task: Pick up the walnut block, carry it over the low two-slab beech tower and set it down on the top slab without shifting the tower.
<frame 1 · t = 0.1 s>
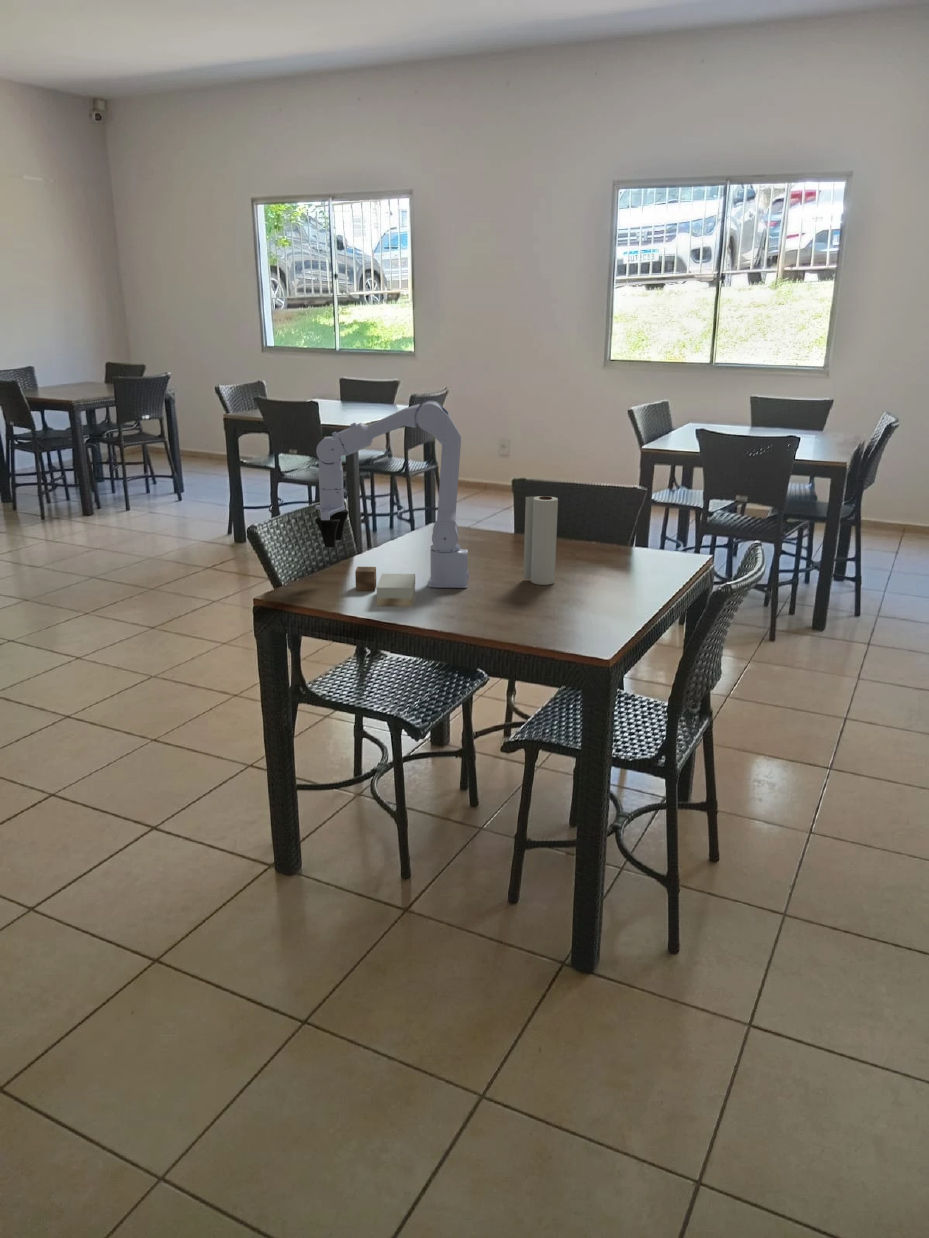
hand: (333, 543, 225), 10 cm above the table, tool pointing down, fingers open, 7 cm apart
paper towel roll: (541, 582, 231), on the table
slab bottom: (396, 601, 216), on the table, touching slab top
slab top: (396, 590, 215), point 2 cm above the table, touching slab bottom
walnut block: (366, 589, 223), on the table
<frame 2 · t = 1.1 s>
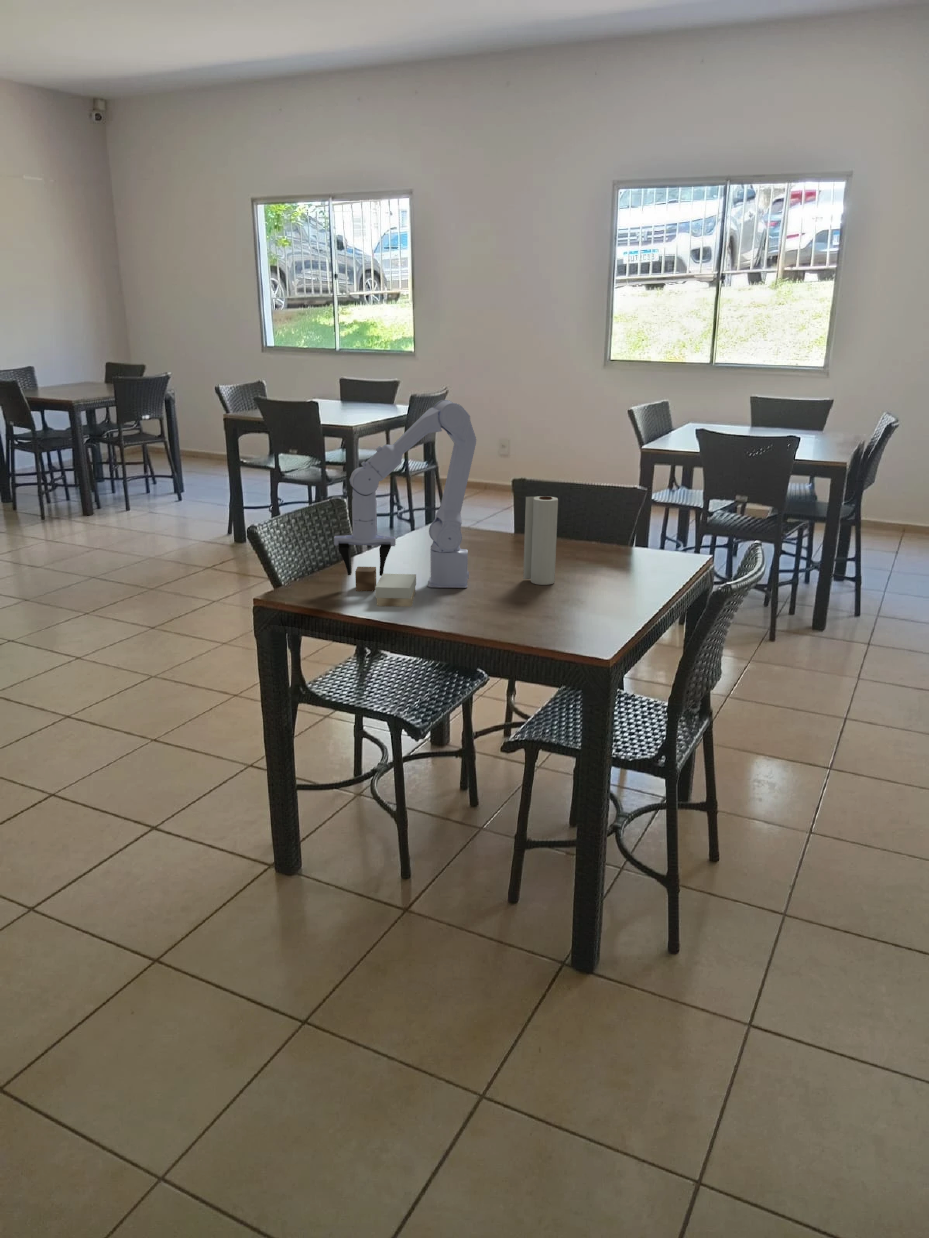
hand: (365, 574, 222), 4 cm above the table, tool pointing down, fingers open, 7 cm apart
nothing on the table moved.
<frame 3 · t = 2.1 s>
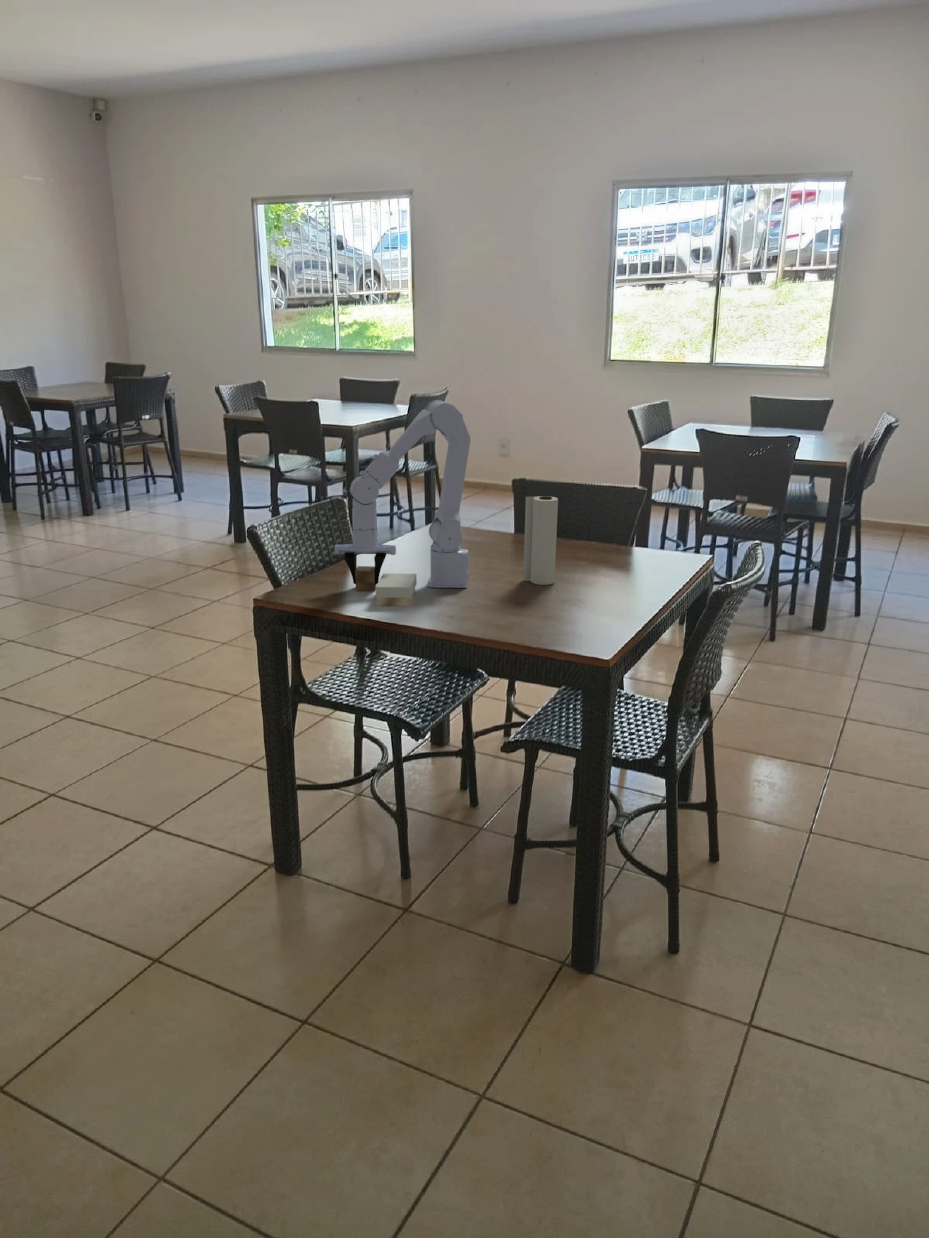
hand: (366, 583, 223), 1 cm above the table, tool pointing down, fingers closed on walnut block, 4 cm apart
walnut block: (366, 588, 223), on the table, touching gripper
everything else where it was.
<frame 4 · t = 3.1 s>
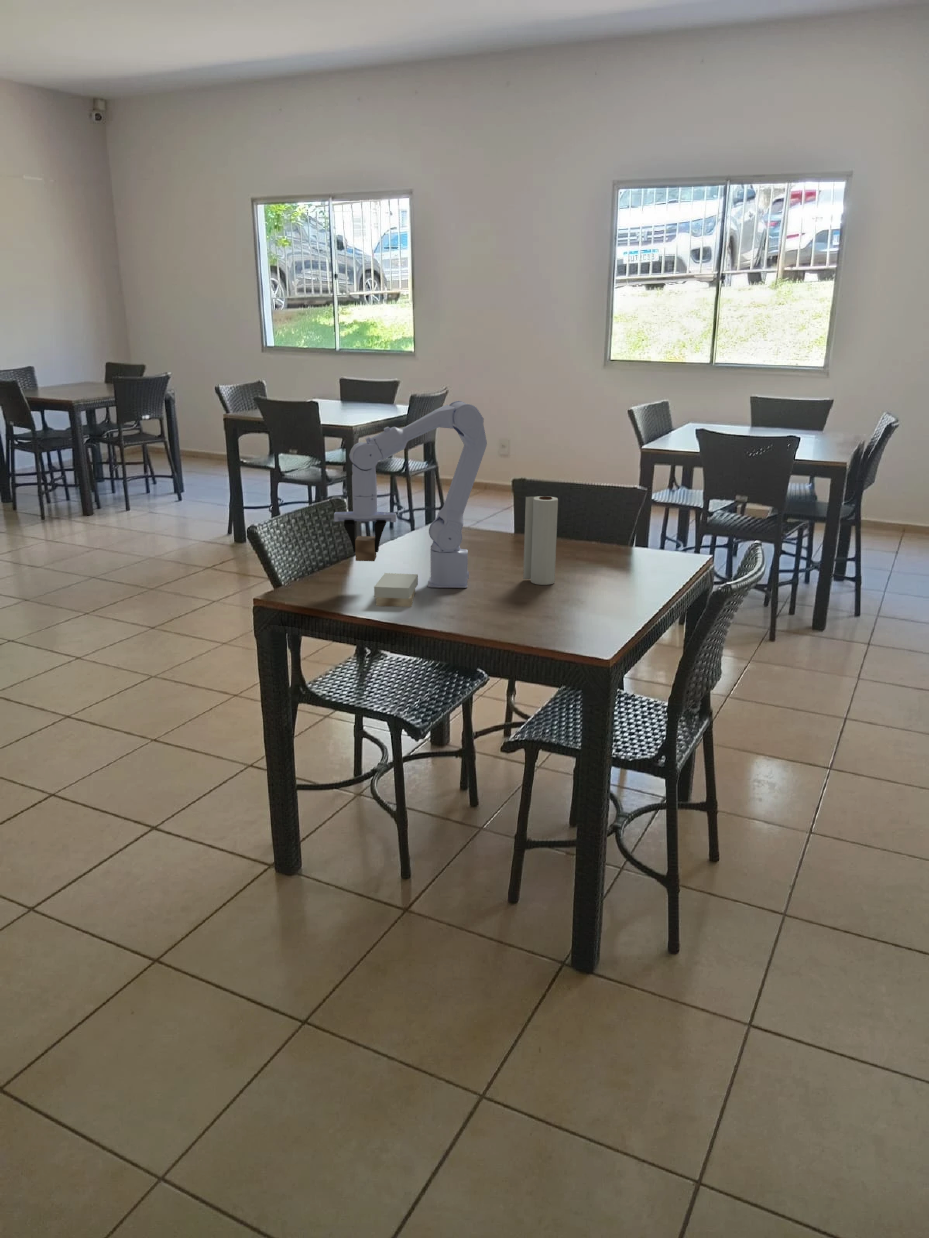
hand: (366, 551, 220), 9 cm above the table, tool pointing down, fingers closed on walnut block, 4 cm apart
walnut block: (366, 558, 221), point 8 cm above the table, touching gripper
everything else where it was.
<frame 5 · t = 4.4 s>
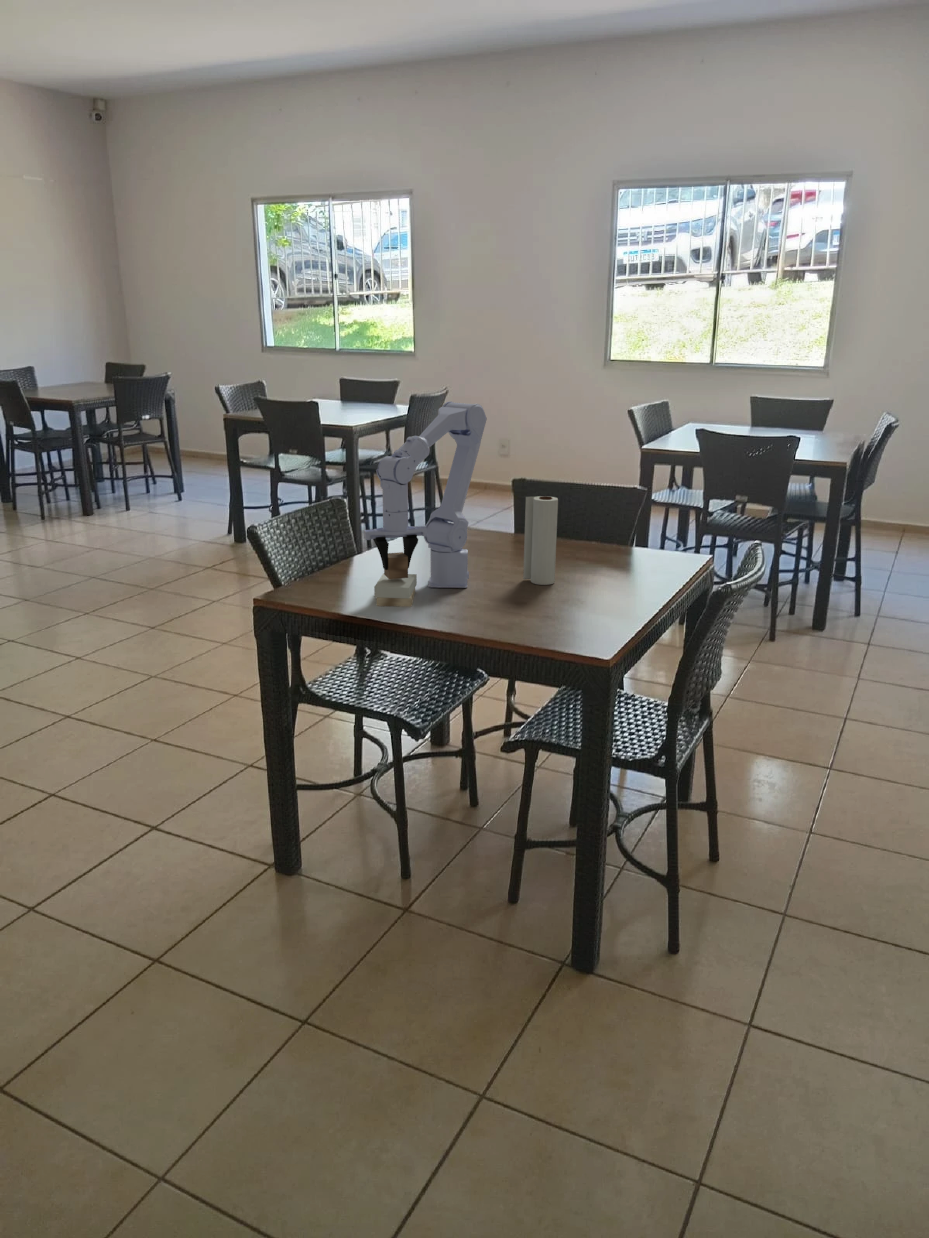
hand: (396, 567, 213), 7 cm above the table, tool pointing down, fingers closed on walnut block, 4 cm apart
walnut block: (396, 576, 214), point 5 cm above the table, touching gripper
everything else where it was.
when the fingers open (7 cm above the table, at t = 4.7 s): walnut block drops 1 cm, point 4 cm above the table.
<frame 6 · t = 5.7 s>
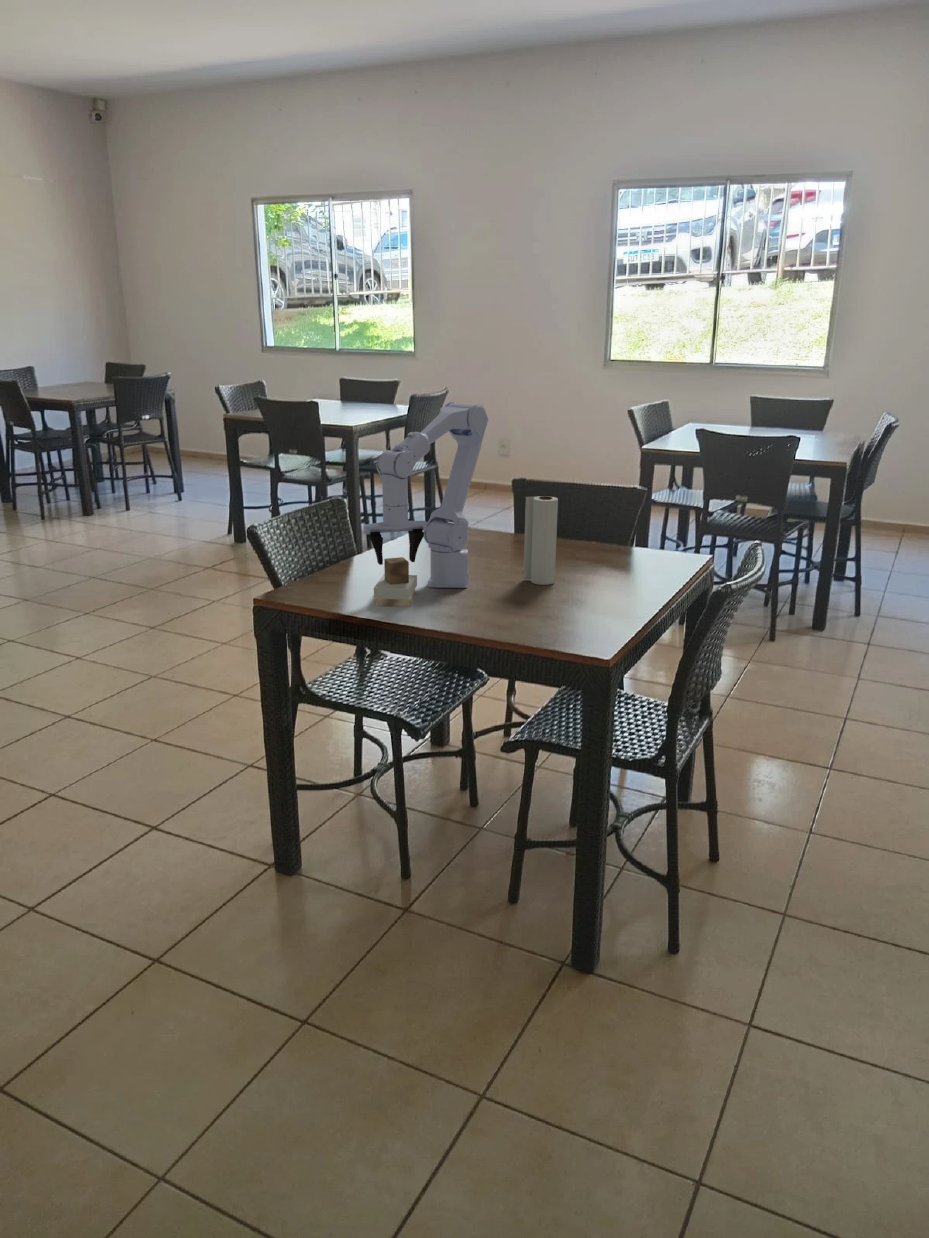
hand: (396, 562, 213), 9 cm above the table, tool pointing down, fingers open, 7 cm apart
walnut block: (396, 581, 215), point 4 cm above the table
everything else where it was.
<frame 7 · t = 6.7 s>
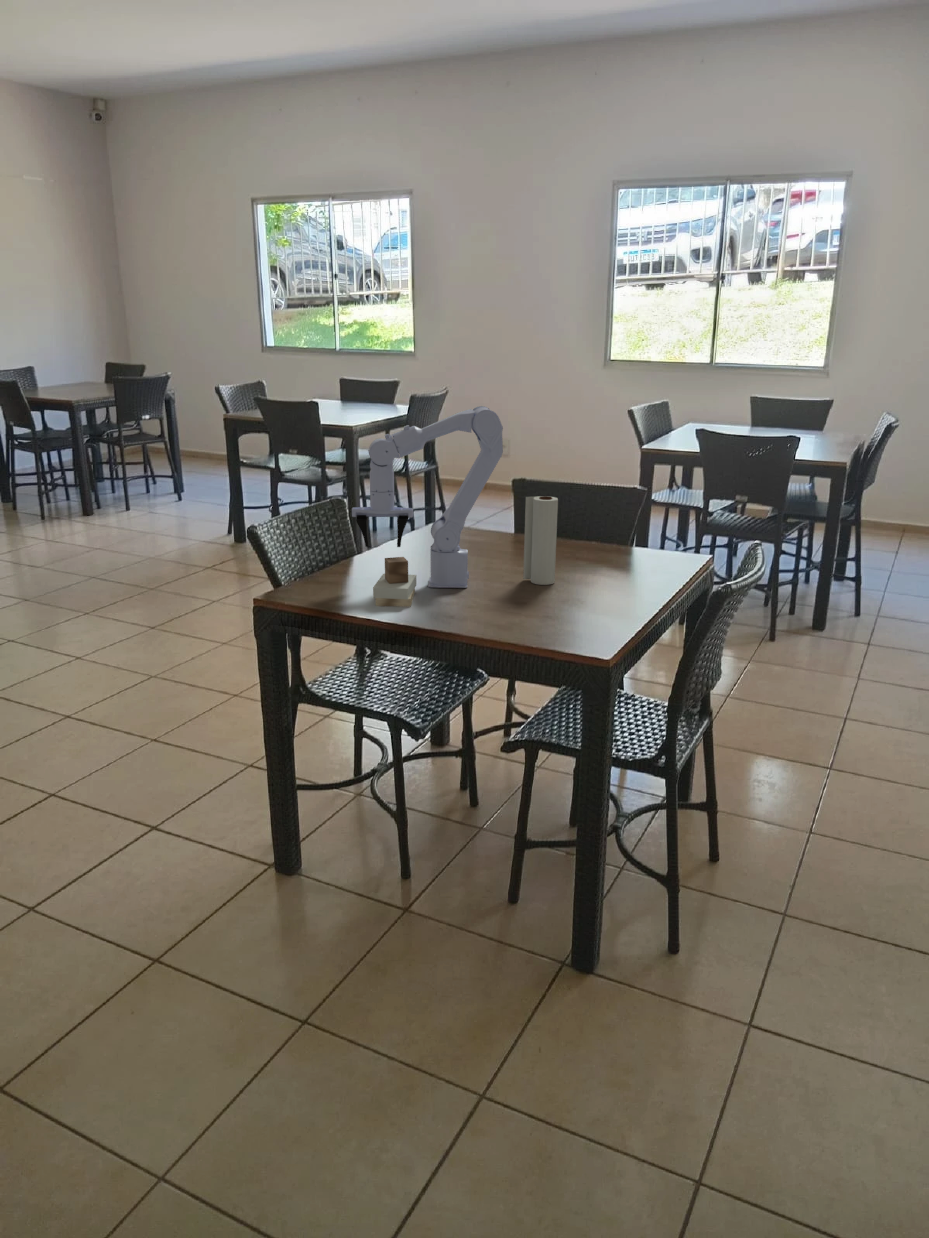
hand: (383, 546, 223), 10 cm above the table, tool pointing down, fingers open, 7 cm apart
nothing on the table moved.
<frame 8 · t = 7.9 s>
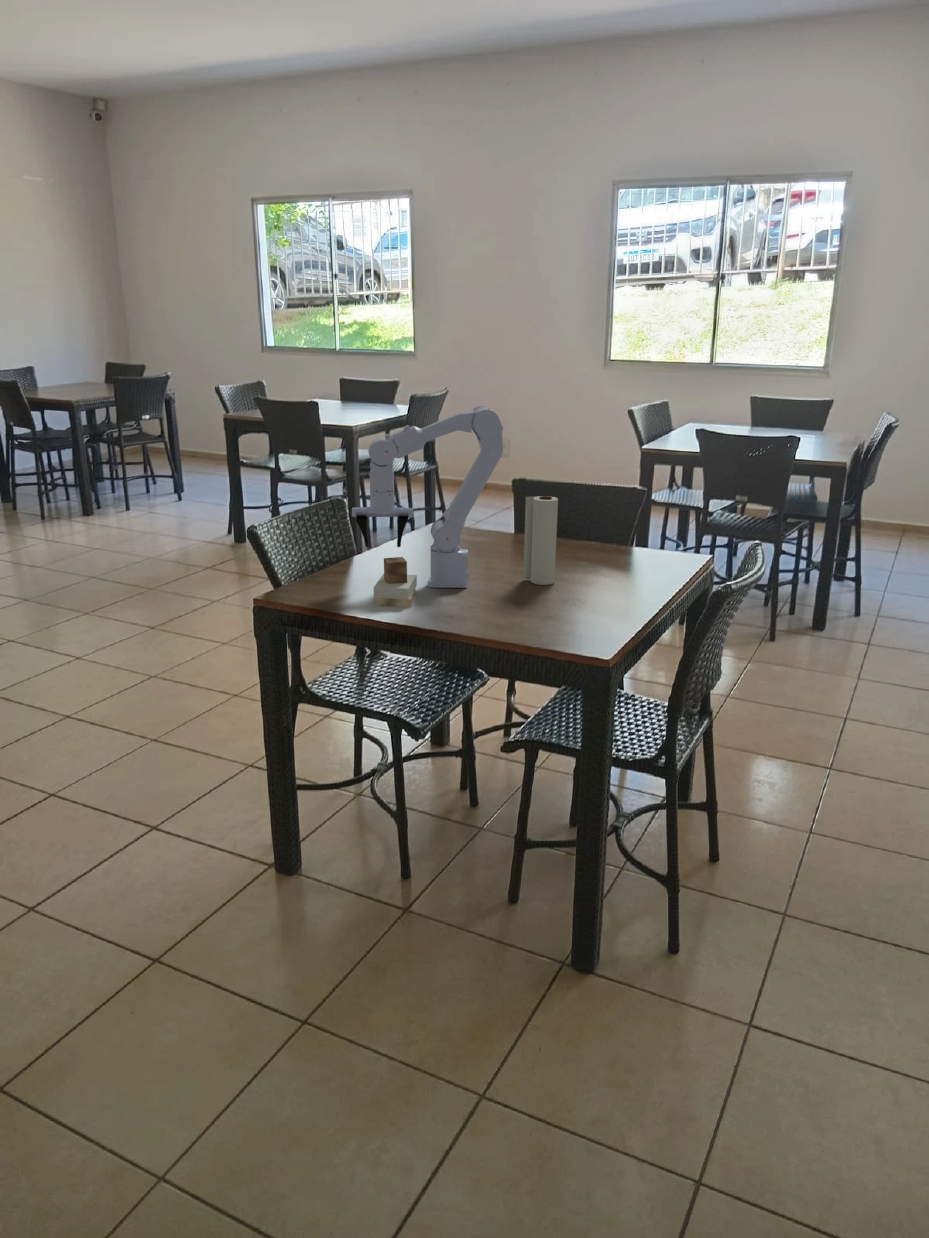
hand: (383, 546, 223), 10 cm above the table, tool pointing down, fingers open, 7 cm apart
slab top: (395, 591, 215), point 2 cm above the table, touching slab bottom, walnut block
walnut block: (395, 580, 215), point 4 cm above the table, touching slab top
everything else where it was.
at the end: walnut block touching slab top; slab top moved 0.8 cm from its start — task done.
